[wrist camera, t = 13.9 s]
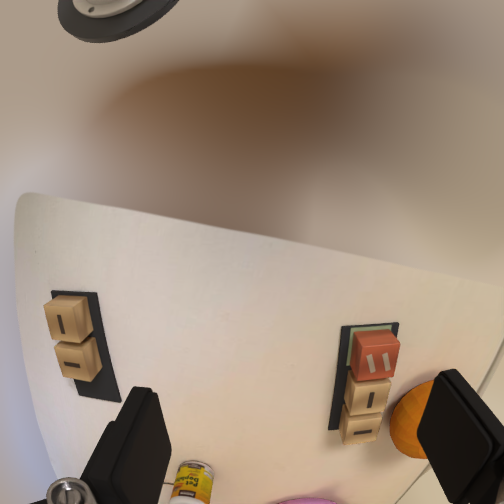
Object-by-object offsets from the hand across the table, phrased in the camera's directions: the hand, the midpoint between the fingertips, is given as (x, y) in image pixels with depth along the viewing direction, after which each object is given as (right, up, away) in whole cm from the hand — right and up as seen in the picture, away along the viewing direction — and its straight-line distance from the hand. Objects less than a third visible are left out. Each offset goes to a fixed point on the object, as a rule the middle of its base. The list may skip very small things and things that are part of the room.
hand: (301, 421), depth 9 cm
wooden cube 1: (-23, -2, +25) cm, 34 cm away
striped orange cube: (+12, -6, +25) cm, 28 cm away
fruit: (+22, -16, +28) cm, 39 cm away
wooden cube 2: (-23, -7, +27) cm, 36 cm away
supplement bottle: (-10, -28, +32) cm, 44 cm away
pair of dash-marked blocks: (+12, -13, +27) cm, 32 cm away
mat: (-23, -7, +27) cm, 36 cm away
